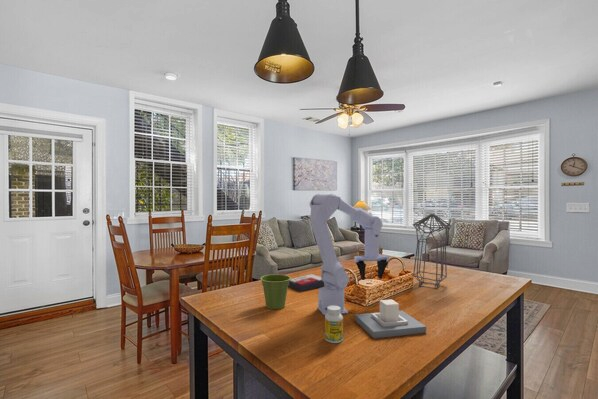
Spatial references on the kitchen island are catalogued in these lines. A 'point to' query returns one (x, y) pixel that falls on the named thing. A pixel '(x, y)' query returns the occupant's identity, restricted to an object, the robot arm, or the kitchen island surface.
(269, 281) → the plant pot
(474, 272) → the kitchen island surface
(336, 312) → the supplement bottle
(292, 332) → the kitchen island surface
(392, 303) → the cream block
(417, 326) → the display plinth
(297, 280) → the dark product box
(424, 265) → the geometric lantern
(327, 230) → the robot arm
